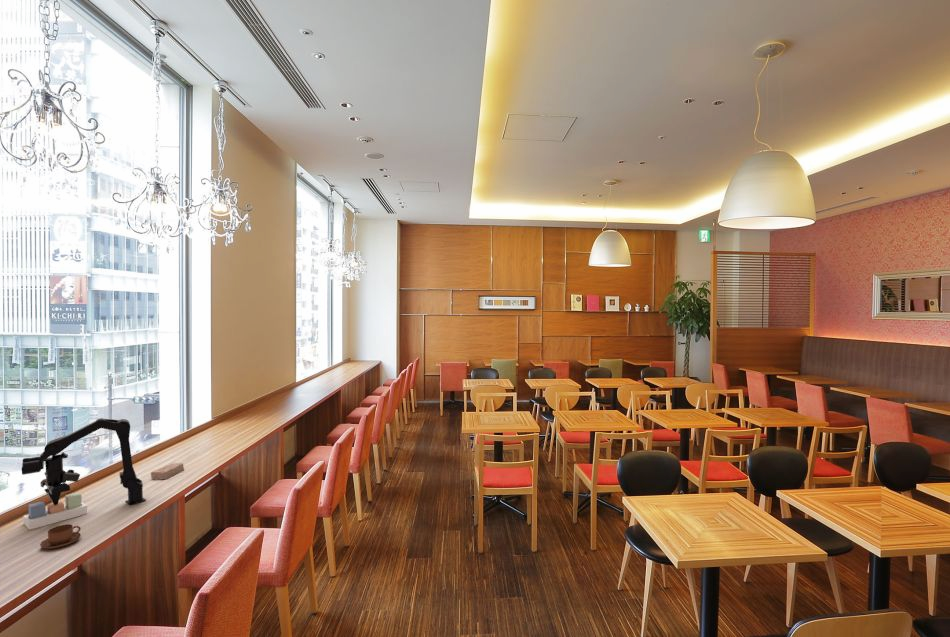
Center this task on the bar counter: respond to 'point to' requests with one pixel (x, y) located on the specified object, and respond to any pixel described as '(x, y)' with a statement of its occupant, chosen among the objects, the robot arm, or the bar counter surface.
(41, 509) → the blue block
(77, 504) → the block sage
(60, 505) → the block terracotta
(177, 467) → the brick
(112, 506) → the bar counter surface
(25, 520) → the socket board
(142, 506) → the bar counter surface
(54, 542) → the cup and saucer
